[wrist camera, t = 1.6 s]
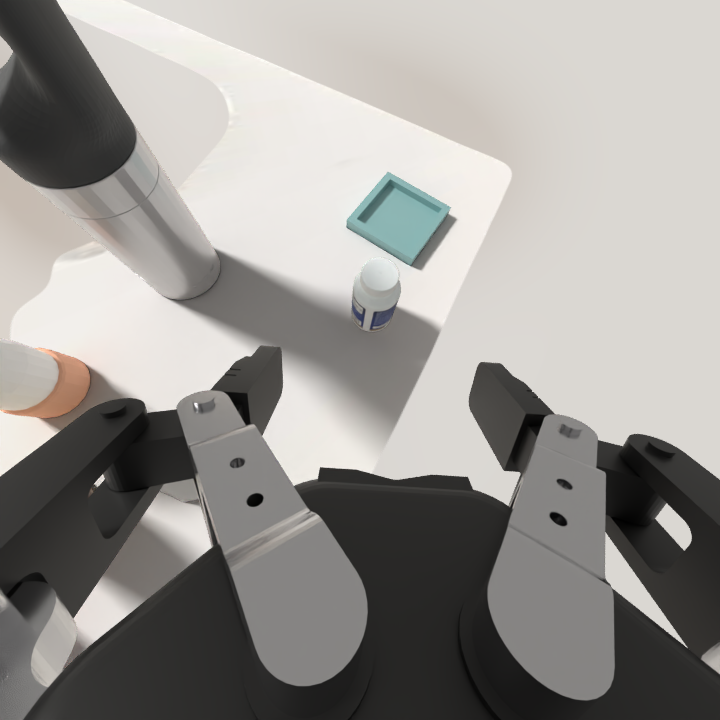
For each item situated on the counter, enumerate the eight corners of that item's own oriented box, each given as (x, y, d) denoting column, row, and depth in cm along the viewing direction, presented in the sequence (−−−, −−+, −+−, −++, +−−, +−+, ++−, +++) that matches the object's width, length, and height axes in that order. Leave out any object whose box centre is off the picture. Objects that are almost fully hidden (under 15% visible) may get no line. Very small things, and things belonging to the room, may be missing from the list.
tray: (346, 227, 43) (346, 219, 42) (386, 180, 46) (387, 171, 45) (410, 266, 42) (413, 259, 41) (447, 215, 45) (450, 207, 44)
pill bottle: (395, 302, 40) (411, 258, 31) (386, 337, 39) (400, 302, 29) (356, 291, 40) (361, 245, 31) (346, 326, 39) (347, 288, 30)
